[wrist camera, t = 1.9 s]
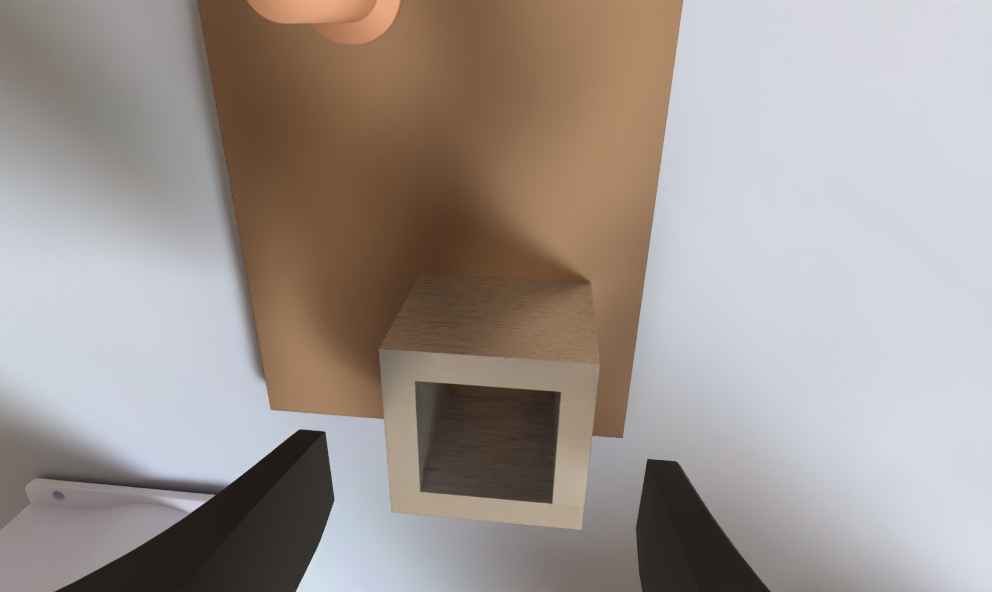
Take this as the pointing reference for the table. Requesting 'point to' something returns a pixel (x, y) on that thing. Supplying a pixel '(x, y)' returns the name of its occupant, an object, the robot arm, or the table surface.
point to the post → (334, 16)
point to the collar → (491, 399)
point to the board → (439, 174)
